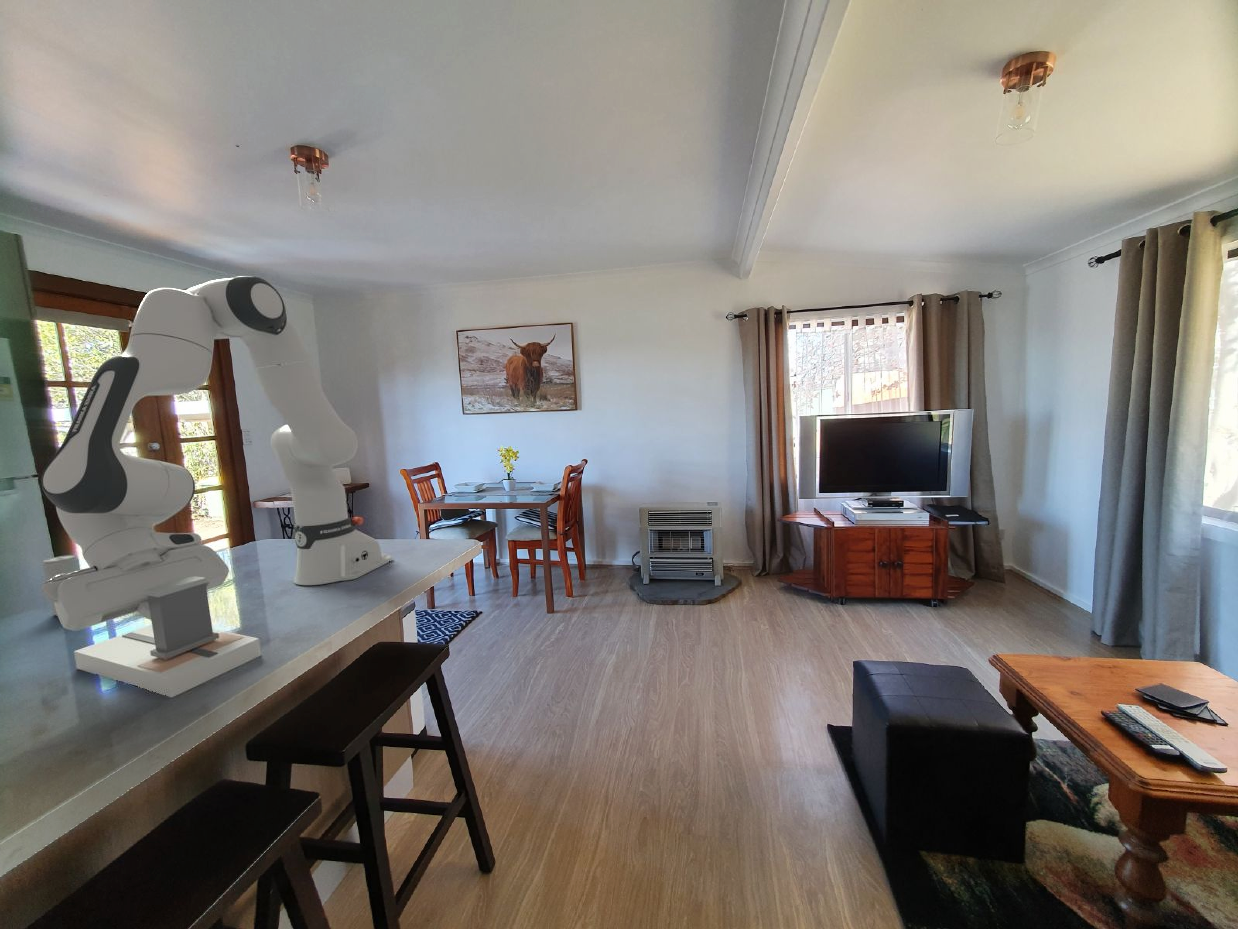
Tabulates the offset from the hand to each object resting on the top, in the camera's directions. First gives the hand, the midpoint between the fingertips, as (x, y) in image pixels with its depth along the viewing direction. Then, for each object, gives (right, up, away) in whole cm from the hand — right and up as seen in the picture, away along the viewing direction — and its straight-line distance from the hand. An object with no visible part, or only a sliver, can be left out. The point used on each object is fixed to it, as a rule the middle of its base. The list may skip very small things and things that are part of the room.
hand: (174, 622), depth 74 cm
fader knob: (+2, -4, 0) cm, 4 cm away
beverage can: (-46, -7, +25) cm, 53 cm away
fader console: (-3, -7, +2) cm, 8 cm away
